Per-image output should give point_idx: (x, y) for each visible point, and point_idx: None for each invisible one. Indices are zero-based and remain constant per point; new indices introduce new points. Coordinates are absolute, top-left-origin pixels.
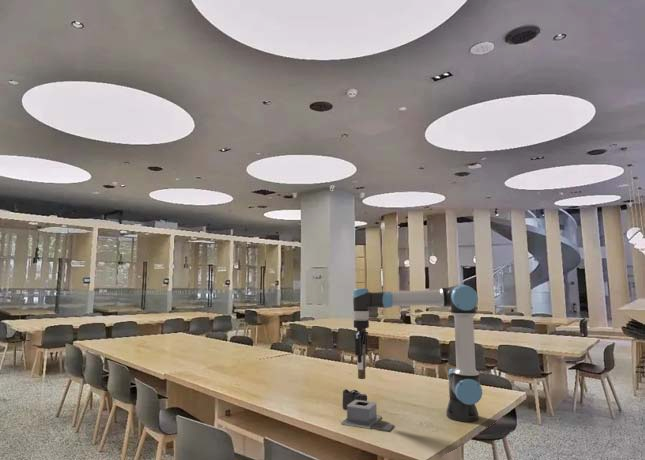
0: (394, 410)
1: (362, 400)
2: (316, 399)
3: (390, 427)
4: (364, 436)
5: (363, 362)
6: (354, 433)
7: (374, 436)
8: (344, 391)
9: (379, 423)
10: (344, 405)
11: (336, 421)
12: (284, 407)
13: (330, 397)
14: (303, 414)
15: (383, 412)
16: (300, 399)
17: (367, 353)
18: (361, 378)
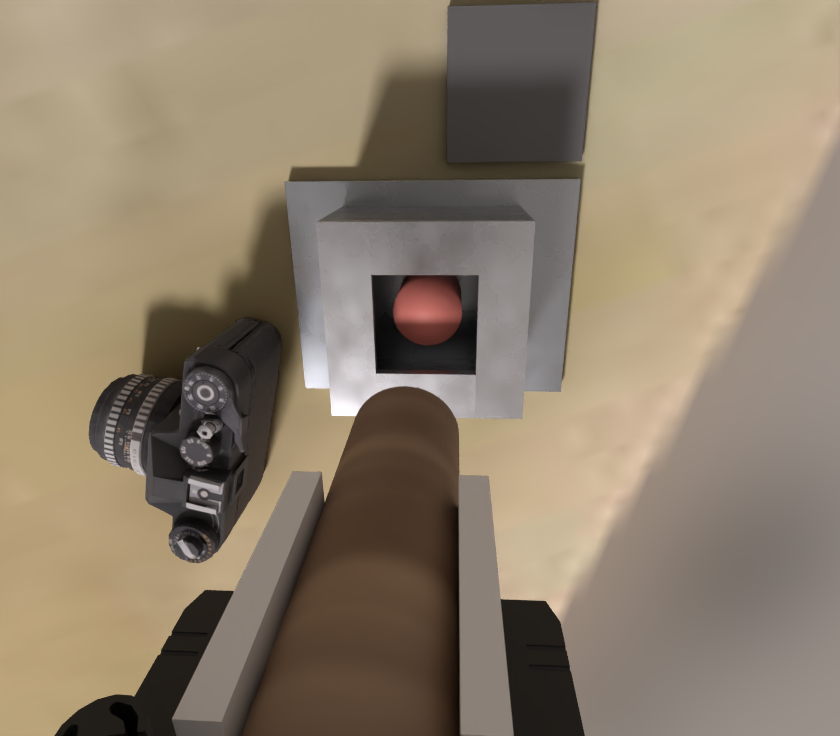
0: (62, 138)
1: (329, 353)
2: None
3: (523, 16)
4: (752, 160)
5: (431, 566)
6: (709, 248)
7: (733, 88)
8: (215, 547)
9: (465, 138)
10: (257, 483)
11: (516, 431)
12: None
13: (90, 614)
14: None
15: (165, 206)
16: None
17: (103, 712)
18: (457, 426)
